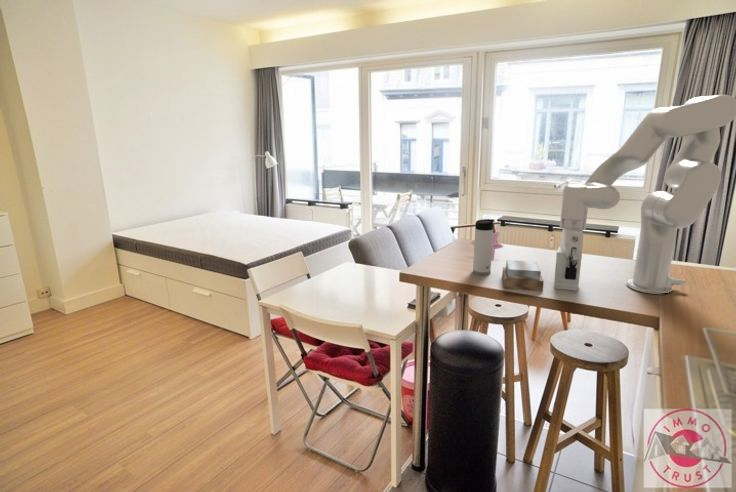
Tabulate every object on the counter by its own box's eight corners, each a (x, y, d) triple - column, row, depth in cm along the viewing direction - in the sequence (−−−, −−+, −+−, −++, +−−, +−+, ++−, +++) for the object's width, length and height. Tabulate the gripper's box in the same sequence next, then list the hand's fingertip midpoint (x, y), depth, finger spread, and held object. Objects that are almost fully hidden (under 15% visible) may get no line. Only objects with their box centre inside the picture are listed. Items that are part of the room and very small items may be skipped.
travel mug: (491, 275, 154) (495, 221, 149) (473, 274, 156) (475, 221, 150) (490, 270, 160) (494, 217, 155) (472, 269, 162) (475, 217, 156)
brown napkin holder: (537, 278, 151) (539, 261, 149) (542, 291, 139) (544, 272, 138) (502, 276, 153) (503, 259, 152) (504, 288, 142) (505, 270, 141)
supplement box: (578, 284, 145) (582, 248, 141) (577, 291, 138) (582, 254, 135) (555, 281, 148) (558, 245, 145) (553, 288, 142) (556, 251, 138)
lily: (467, 254, 183) (467, 238, 177) (488, 241, 187) (488, 224, 180) (488, 269, 175) (488, 253, 169) (509, 255, 179) (509, 238, 172)
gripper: (592, 230, 128) (585, 284, 133) (579, 218, 144) (574, 266, 149) (565, 229, 130) (559, 283, 135) (555, 217, 146) (551, 265, 151)
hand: (567, 274), depth 142 cm, fingers closed on supplement box, 8 cm apart
